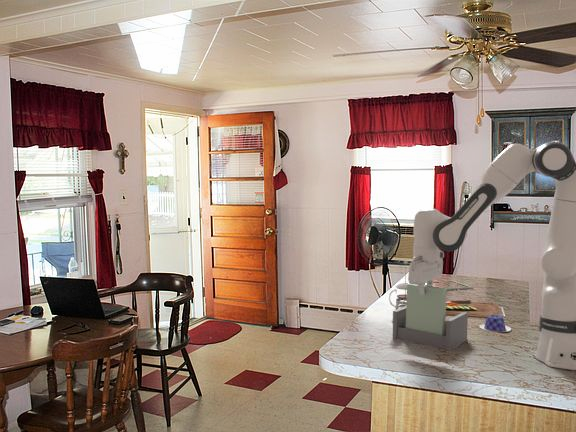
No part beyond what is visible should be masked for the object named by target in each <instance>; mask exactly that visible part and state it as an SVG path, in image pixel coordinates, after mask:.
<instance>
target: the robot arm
mask: <svg viewBox="0 0 576 432" xmlns="http://www.w3.org/2000/svg"><path fill="white" fill-rule="evenodd" d="M530 173H536V174H539V175H542V176H544V177H547V178H548V177H549V178H552V179H553V180H554V183H555V190H554V195H553V200H552V206H551V213H550V216H549V218H550V219H549V223H548V227H547V231H546V234H545V238H544V243H543V248H542V251H541V257H540V265H541V268H542V270H543V271H544V275H543V277H544V278H543V286H542V291H541V292H542V294H541V315H540V316H539V322H538V323H539V340H538V345H537V348H536V352H535V354H534V357H535V359H537V360H538V361H540V362H543V364H545V365H546V366H548V367H551V368H557V369H565V370H571V371H576V161H575V157H574V156H573V153H572V151H571V150H570V148H569V147H568V146H567V145H565V144H564V143H562V142H557V141H549V142H548V141H547V142H545V143H543V144H541V145H539V146H537V147H534V148H532V149H531V148H529V147H528V146H526V145H525V144H521V143H513V144H510V145H508V146H507V147H506V148H505V149H504V150H503V151H501V152H500V153H499V154H498V155H497V156H496V157H495V158H494V159H493V160H492V161H491V162H490V164H489V165H488V166H487V167H486V168H485V170H484V171H483V172H482V174H481V176H480V177H479V179H478V181H477V183H476V185H475V187H474V190H473V191H472V192H471V195H470V196H469V197H468V199H467V200H466V201H465V202H464V203H463V204H462V206H461V207H460V208H459V209H458V210H457V211H456V212H455V213H454V214H453V215H452V216H451V217H450V216H448V215H445V214H443V213H442V212H441V211H439V210H438V209H436V208H430V209H423V210H419V211H418V212H417V213H416V214H415V215H414V219H413V233H412V235H413V238H414V241H413V246H412V247H413V248H412V249H413V250H412V251H413V252H412V254H413V256H412V261H411V262H410V263H409V267H408V274H407V275H408V277H407V278H408V279H407V280H408V284H409V283H410V284H415V285H418V288H419V294H421V295H424V294H426V289H425V288H424V285H425V282H427V285H426V286H432V285H433V282H434V280H436V279H438V278H441V277H442V275H443V270H444V269H443V266H444V260H443V258H445V252H455V251H457V250H458V249H459V248H460V247H462V246H463V243H464V241H465V240H466V239H467V236H468V230H469V229H470V227H471V226H473V224H474V222H476V220H477V219H479V217H480V216H481V215H482V214H483V213H484V212H485V211H486V210H487V209H489V207H491V206H492V205H494V204H495V203H497V202H498V201H501V199H504V198H505V197H506V196H508V195H509V194H510V192H512V191H513V190H514V189H515V188H516V187H517V185H518V184H519V183H520V182H521V181H522V180H523V179H524V178H525V177H526V176H527V175H529V174H530Z"/></svg>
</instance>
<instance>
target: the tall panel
mask: <svg viewBox="0 0 576 432" xmlns="http://www.w3.org/2000/svg"><path fill="white" fill-rule="evenodd" d="M424 288H425V289H426V294H424V295H421V294H419V288H418V285H415V284H410V283H409V282H408V284H407V290H406V295H407V303H406V329H412V330H417V331H422V332H427V333H432V334H438V335H443V336H445V322H446V318H447V317H446V316H447V315H446V300H447V292H448V291H447V289H446V288H439V287H433V286H426V285H424Z"/></svg>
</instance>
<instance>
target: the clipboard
mask: <svg viewBox="0 0 576 432" xmlns="http://www.w3.org/2000/svg"><path fill="white" fill-rule="evenodd" d="M439 282H454V283H457V284H459V285H462V286H465V287H461V288H446V289H447V290H450V291H456V290H455V289H465V290H473V289H474V287H473V286H470V285H468V284H467V283H462V282H458V281H456V280H442V281H441V280H439V281H433V283H439ZM425 283H427V282H425Z"/></svg>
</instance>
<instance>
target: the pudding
mask: <svg viewBox="0 0 576 432" xmlns="http://www.w3.org/2000/svg"><path fill="white" fill-rule="evenodd" d="M479 328H480V329H481V330H484V331H488V332H492V333H506V332H510V331H511V330H512V327H510V326H507V325H506V324H505V319H504V316H498V315H489V316H488V317H487V318H486V321H485V323H482V324H480V325H479Z"/></svg>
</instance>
